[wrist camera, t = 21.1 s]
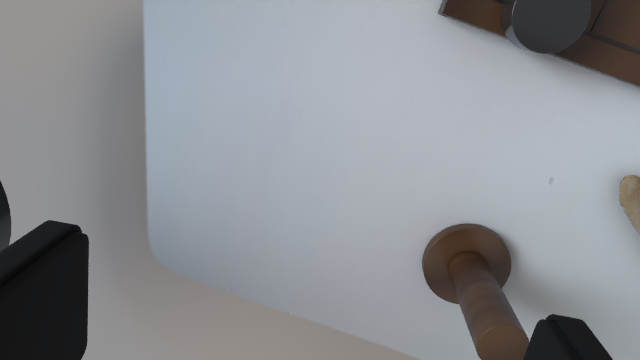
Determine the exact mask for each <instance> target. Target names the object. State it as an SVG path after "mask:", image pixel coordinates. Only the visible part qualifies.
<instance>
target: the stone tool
mask: <svg viewBox="0 0 640 360" xmlns="http://www.w3.org/2000/svg"><path fill="white" fill-rule="evenodd" d="M620 204H621V206H622V207H623V208H624V211H625V213H626V214H627V216H628V218H629V219H630V221H631V223H632V225H633V226H634V228H635V229H636V231H637V232H638V233H639V234H640V177H637V176H635V175H628V176H625V177H624V178H623V179H622V180H621V186H620Z"/></svg>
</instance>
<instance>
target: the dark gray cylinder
mask: <svg viewBox="0 0 640 360" xmlns="http://www.w3.org/2000/svg"><path fill="white" fill-rule="evenodd" d="M590 15H591V0H505V2H504V5H503V8H502V12H501V25H502V29H503V32H504V34H505V36H506V37H507V39H508V40H509V41H510V42H511V43H512V44H513V45H514V46H516V47H518V48H520V49H522V50H526V51H531V52H536V53H543V54H548V53H555V52H558V51H561V50H563V49H565V48H567V47H569V46H570V45H572V44H573V43H574V42H575V41H576V40H577V39H578V38H579V37H580V36H581V35H582V33H583V32H584V30H585V29H586V27H587V25H588V22H589V19H590Z"/></svg>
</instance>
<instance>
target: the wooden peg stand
mask: <svg viewBox="0 0 640 360" xmlns="http://www.w3.org/2000/svg"><path fill="white" fill-rule="evenodd" d="M422 267H423V272H424V276H425V279H426V282H427V284H428V286H429V287H430V289H431V290H432V291H433V292H434V293H435V294H436V295H437V296H439V297H440V298H442V299H444V300H446V301H448V302H451V303H455V304H459V305H460V307H461V310H462V313H463V315H464V318H465V321H466V324H467V326H468V329H469V332H470V335H471V337H472V340H473V343H474V345H475V348H476V351H477V353H478V356H479V357H480V359H481V360H523V358H524V356H525V353H526V350H527V348H528V345H529V339H528V337H527V335H526V333H525V331H524V330H523V328H522V326H521V324H520V322H519V320H518V318H517V317H516V315H515V313H514V311H513V309H512V307H511V306H510V304H509V302H508V300H507V298H506V296H505V295H504V293H503V291H502V289H501V288H502V287H503V286H504V285H505V283H506V281H507V279H508V277H509V274H510V270H511V258H510V254H509V251H508V249H507V247H506V246H505V244H504V243H503V241H502V240H501V239H500V237H499V236H498V235H497V234H496V233H494V232H493V231H492V230H490V229H488V228H486V227H483V226H480V225H476V224H459V225H454V226H451V227H448V228H446V229H444V230H442V231H441V232H439V233H438V234H437V235H436V236H434V237H433V239H432V240H431V241H430V242H429V244H428V245H427V247H426V249H425V251H424V254H423V259H422Z"/></svg>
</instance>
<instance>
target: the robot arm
mask: <svg viewBox="0 0 640 360" xmlns="http://www.w3.org/2000/svg"><path fill="white" fill-rule="evenodd" d="M88 252H89V240H88V236H87V235H86V234H83V233H82V231H81V229H80V227H79V226H78V225H73V224H68V223H63V222H57V221H51V220H49V221H46V222H44V223H43V224H41V225H40V226H38V227H37V228H35V229H34V230H32V231H31V232H29V233H28V234H26V235H25V236H23V237H22V238H20V239H19V240H17V241H16V242H14V243H13V244H11V245H10V246H8V247H7V248H5V249H4V250H2V251H1V252H0V360H81V359H82V357H83V355H84V353H85V350H86V346H87V325H88V256H89V253H88ZM523 360H613V359H612V358H611V356H610V355H609V354H608V352H607V351H606V350H605V348H604V347H603V346H602V344H601V343H600V342H599V341H598V339H597V338H596V337H595V335H594V334H593V333H592V331H591V330H590V329H589V327H588V326H587V325H586V323H585V322H584V321H583V320H580V319H576V318H570V317H565V316H560V315H554V314H552V315H549V316H548V317H547V318H546V320H540V321H539V322H538V323H537V325H536V327H535V329H534V332H533V335H532V337H531V340H530V342H529V345H528V348H527V350H526V353H525V356H524V358H523Z"/></svg>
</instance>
